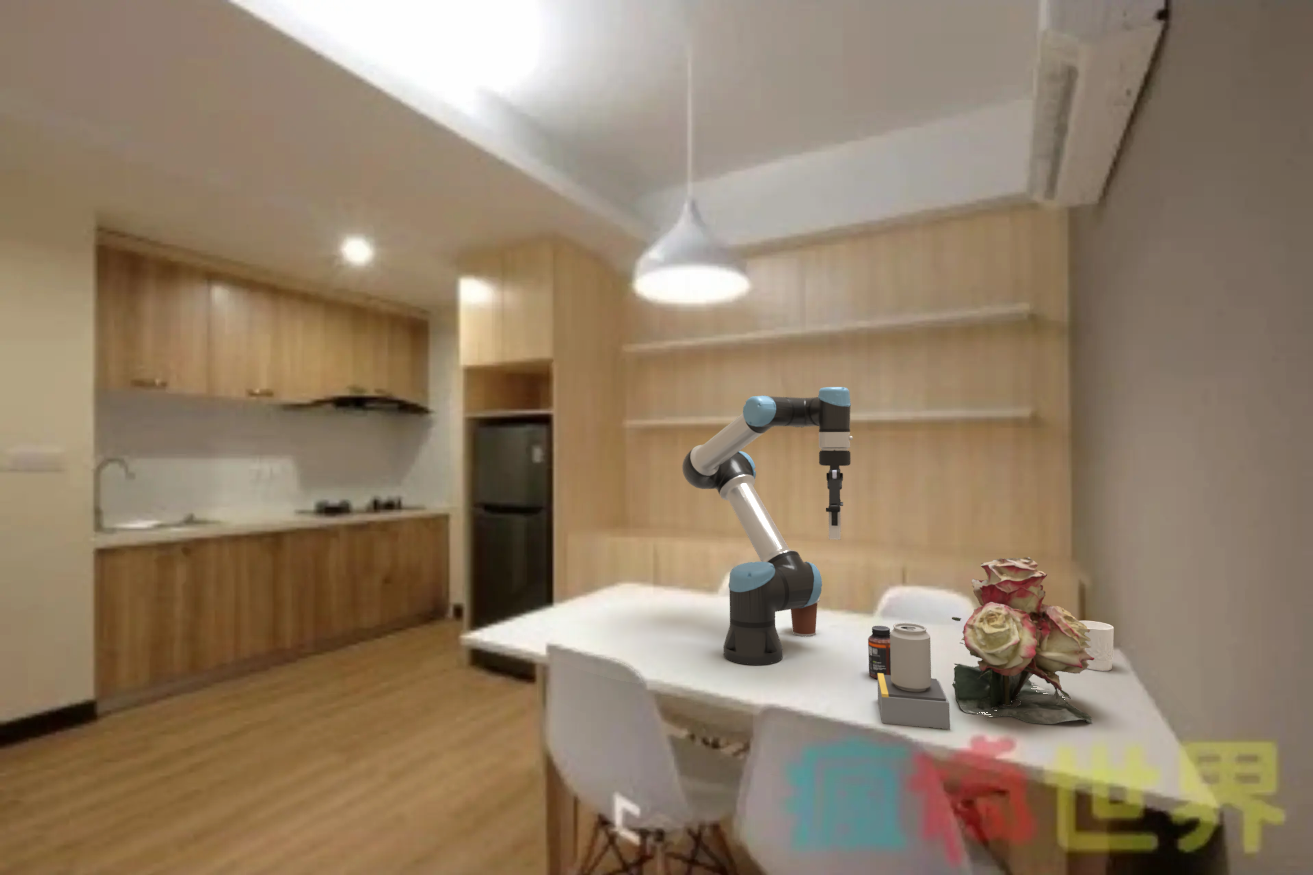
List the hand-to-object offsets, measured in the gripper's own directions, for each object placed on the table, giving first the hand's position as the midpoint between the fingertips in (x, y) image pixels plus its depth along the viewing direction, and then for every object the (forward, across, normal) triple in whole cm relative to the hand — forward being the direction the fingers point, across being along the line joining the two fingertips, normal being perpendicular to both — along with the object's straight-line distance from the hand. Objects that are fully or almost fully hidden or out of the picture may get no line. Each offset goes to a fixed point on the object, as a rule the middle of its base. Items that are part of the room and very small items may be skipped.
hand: (835, 535), depth 158 cm
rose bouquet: (+31, -15, -37) cm, 51 cm away
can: (+26, -27, -15) cm, 40 cm away
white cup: (+31, +14, -60) cm, 69 cm away
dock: (+31, -27, -15) cm, 44 cm away
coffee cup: (+32, +26, +9) cm, 42 cm away
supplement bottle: (+32, -6, -11) cm, 34 cm away
